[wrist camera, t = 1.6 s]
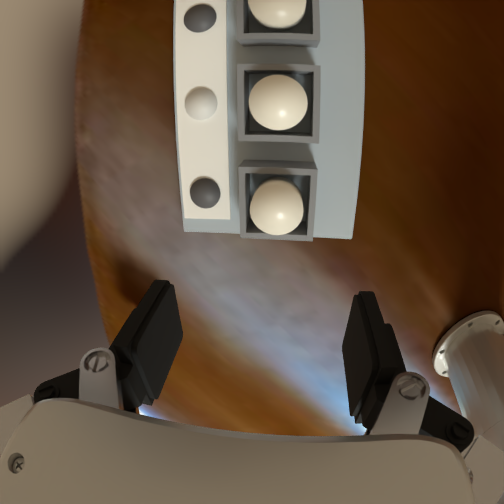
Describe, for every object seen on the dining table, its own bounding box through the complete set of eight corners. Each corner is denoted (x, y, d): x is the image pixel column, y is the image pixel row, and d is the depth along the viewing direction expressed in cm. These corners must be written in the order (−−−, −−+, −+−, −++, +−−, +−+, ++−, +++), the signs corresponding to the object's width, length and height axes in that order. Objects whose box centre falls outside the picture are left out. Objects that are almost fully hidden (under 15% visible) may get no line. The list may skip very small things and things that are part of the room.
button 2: (303, 177, 23) (304, 186, 21) (300, 223, 25) (301, 236, 23) (253, 175, 24) (249, 184, 22) (253, 221, 26) (250, 233, 24)
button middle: (305, 78, 20) (307, 75, 18) (305, 128, 22) (306, 131, 19) (252, 77, 20) (248, 74, 18) (253, 126, 22) (248, 129, 20)
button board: (357, -11, 17) (369, -28, 13) (349, 232, 29) (357, 254, 25) (180, -9, 19) (162, -24, 15) (188, 225, 30) (173, 245, 26)
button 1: (304, -11, 16) (305, -23, 14) (305, 31, 18) (307, 23, 16) (251, -12, 16) (247, -23, 14) (252, 30, 18) (247, 23, 16)
